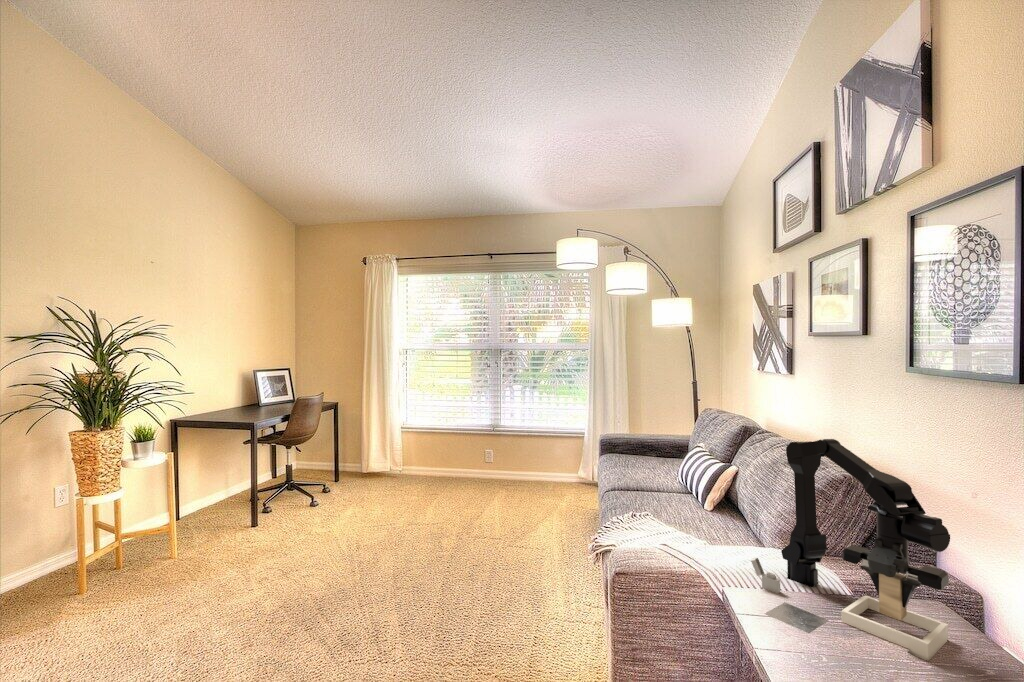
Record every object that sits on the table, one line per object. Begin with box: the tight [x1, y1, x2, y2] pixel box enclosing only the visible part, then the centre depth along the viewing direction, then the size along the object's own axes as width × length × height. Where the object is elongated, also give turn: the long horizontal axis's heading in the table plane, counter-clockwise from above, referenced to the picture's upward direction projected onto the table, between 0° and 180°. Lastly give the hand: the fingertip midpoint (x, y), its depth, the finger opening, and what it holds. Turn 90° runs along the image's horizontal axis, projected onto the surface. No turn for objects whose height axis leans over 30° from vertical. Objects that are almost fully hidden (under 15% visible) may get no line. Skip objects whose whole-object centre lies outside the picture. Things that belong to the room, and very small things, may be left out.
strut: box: [878, 573, 908, 622], centre depth 112 cm, size 4×4×9 cm
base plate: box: [764, 602, 829, 634], centre depth 116 cm, size 10×10×1 cm
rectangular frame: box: [840, 595, 949, 662], centre depth 111 cm, size 16×14×4 cm
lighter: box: [750, 557, 781, 594], centre depth 131 cm, size 7×2×8 cm, turn 38°
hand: (892, 603), depth 112 cm, fingers closed on strut, 4 cm apart
